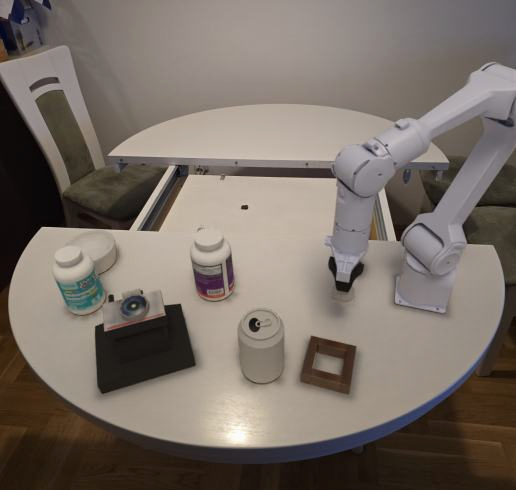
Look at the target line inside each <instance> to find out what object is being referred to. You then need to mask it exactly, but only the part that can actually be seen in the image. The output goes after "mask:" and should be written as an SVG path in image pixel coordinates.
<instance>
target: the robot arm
mask: <svg viewBox="0 0 516 490" xmlns="http://www.w3.org/2000/svg"><path fill="white" fill-rule="evenodd" d="M477 117H479V118H480V119H481V121H482V125H483V133H482V134H481V137H480V138H479V140H478V141H477V143H476V144H475V146H474V147H473V149H472V150H471V152H470V154H469V155H468V157H467V158H466V160H465V161H464V163H463V165H462V166H461V168H460V169H459V170H458V172H457V174H456V176H455V177H454V179H453V180H452V182H451V183H450V184H449V186H448V188H447V189H446V191H445V193H444V194H443V196H442V197H441V199H440V200H439V202H438V204H437V206H436V207H435V208H434V210H433V211H432V212H425V213H420V214H418V215H417V216H416V218H415V219H414V221H412V222H411V224H409V225H408V226H407V227H406V228H405V230H404V231H403V232H402V235H401V236H400V244H401V246H402V247H403V248H404V252H403V254H404V255H405V260H404V262H403V266H402V270H401V274H400V275H397V276H396V277H395V290H394V291H395V292H394V304H396V305H398V306H399V305H400V306H404V307H409V308H415V309H419V310H424V311H429V312H433V313H439V314H446V311H447V306H448V304H449V301H450V298H451V297H452V293H453V291H454V288H455V284H456V280H457V279H456V278H457V266H458V264H459V263H460V260H461V257H462V254H463V252H464V250H465V248H466V247H467V246H468V241H467V238H466V235H465V232H464V229H463V225H464V223H465V222H466V220H467V219H468V217H469V216H470V215H471V213H472V211H473V210H474V209H475V207H476V206H477V205H478V203H479V202H480V200H481V199H482V198H483V196H484V194H485V193H486V191H487V190H488V188H489V187H490V185H491V183H493V181H494V180H495V178H496V177H497V175H498V174H499V173H500V172H501V170H502V168H503V167H504V165H505V164H506V162H507V161H508V160H509V158H510V157H511V155H512V154H513V153H514V151H515V149H516V69H514V68H511V67H508V66H505V65H503V64H502V63H499V62H496V61H490V62H487V63H485V64H484V65H482V66H481V67H480V68H479V69H477V70H475V71H472V72H471V73H470V74H469V76H468V77H467V79H466V82H465V84H464V87H461V88H460V89H459V90H458V91H456V92H455V93H453V94H452V95H450V96H449V97H448V98H447V99H445V100H444V101H442V102H441V103H440V104H438V105H437V106H435V107H434V108H432V109H431V110H430V111H428V112H427V113H425V114H424V115H422V116H420V118H419V119H417V118H412V117H404V118H400V119H398V120H396V121H395V122H394V124H392V125H391V126H390V127H388V128H386V129H385V130H383V131H382V132H380V133H379V134H377V135H375V136H374V137H372V138H370V139H368V140H367V141H365V142H364V143H362V144H360V143H357V144H355V143H353V144H350V145H346V146H344V147H342V149H341V150H339V152H338V153H337V155H336V156H335V159H334V162H332V163H331V164H330V170H331V173H332V175H333V176H334V177H335V178H336V184H335V185H336V187H337V189H336V199H335V208H334V217H333V227H332V229H333V230H332V235H326V236H325V239H324V243H323V244H324V246H326V247H330V249H331V252H332V255H333V256H332V255H330V256H329V257H328V263H327V267H328V270H329V271H330V272H331V274H332V276H333V279H334V284H335V286H336V289H337V291H342V292H347V293H348V292H349V291H350V289H351V287H352V286H353V284H354V283H355V281H356V279H358V277H360V276H361V275H362V274H363V272H364V268H365V264H364V263H362V264H360V263H359V262H360V261H361V260H363V258H364V257H365V256H366V255H367V254H368V251H369V248H370V243H369V240H370V234H371V229H372V222H373V217H374V211H375V206H376V201H377V200H376V199H377V194H379V193H380V192H381V191H382V190H383V189H384V188H385V187H386V186H387V184H388V183H389V181H390V180H391V179H392V178H393V177H394V176H395V175H396V172H397V171H398V170H400V169H401V168H403V167H405V166H407V165H408V164H409V163H411V162H413V161H414V160H416V159H418V158H419V157H421V156H423V155H424V154H425V153H428V151H429V149H430V145H431V143H432V142H431V141H432V140H434V139H436V138H437V137H439V136H441V135H444V134H446V133H447V132H449V131H451V130H453V129H455V128H457V127H459V126H461V125H463V124H464V123H466V122H469V121H471V120H472V119H475V118H477Z"/></svg>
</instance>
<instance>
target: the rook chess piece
mask: <svg viewBox="0 0 516 490" xmlns="http://www.w3.org/2000/svg"><path fill="white" fill-rule="evenodd" d="M329 296H330V299H331V300H332V301H333V302H335V303H336V304H338V305H341V306H342V305H345V306H346V305H349V304H351V303H352V302H353V301H354V300H355V297H356V291H355V288H354V286H353V285H352V287H351V289H350V291H349V292H348V293H347V292H342V291H337V289H336V286H335V283H334V284H333V285H332V286H331V288H330V292H329Z"/></svg>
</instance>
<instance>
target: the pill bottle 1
mask: <svg viewBox="0 0 516 490" xmlns="http://www.w3.org/2000/svg"><path fill="white" fill-rule="evenodd" d="M53 259H54V261H55V262H54V264H53V266H52V270H51V273H52V276H53V278H54V281H55V282H56V285H57V287H58V289H59V292H60V294H61V296H62V299H63V300H64V303H65V305H66V307H67V309H68V311H69V312H71V313H72V314H74V315H77V316H78V315H79V316H83V315H89V314H92V313H94V312H96V311H98V309H101V307H102V304H105V301H106V292H105V289H104V287H103V284H102V281H101V279H100V276H99V274H98V273H97V270H96V268H95V265H94V262H93V260H92V258H91V257H90V256H89V255H87V254H84V253H82V252H81V249H80V248H79V247H77V246H66V247H65V246H63V247H61V248H59V249H58V250H57V251H56V252H55V253H54V256H53Z"/></svg>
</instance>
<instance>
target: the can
mask: <svg viewBox="0 0 516 490" xmlns="http://www.w3.org/2000/svg"><path fill="white" fill-rule="evenodd" d="M237 341H238V342H237V343H238V351H239V360H240V361H239V362H240V367H241V372H242V374H243V375H244V376H245V378H246V379H248V380H249V381H251V382H254V383H257V384H267V383H271V382H273V381H275V380H277V379H278V378H279V377H280V376H281V374H282V373H283V371H284V368H285V324H284V322H283V320H282V319H281V317H280V315H278V314H277V312H276V311H274V310H272V309H270V308H268V307H256V308H255V307H254V308H252V309H250V310H248V311H247V312H245V314H243V316H242V318H241V319H240V320H239V323H238V324H237Z"/></svg>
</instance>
